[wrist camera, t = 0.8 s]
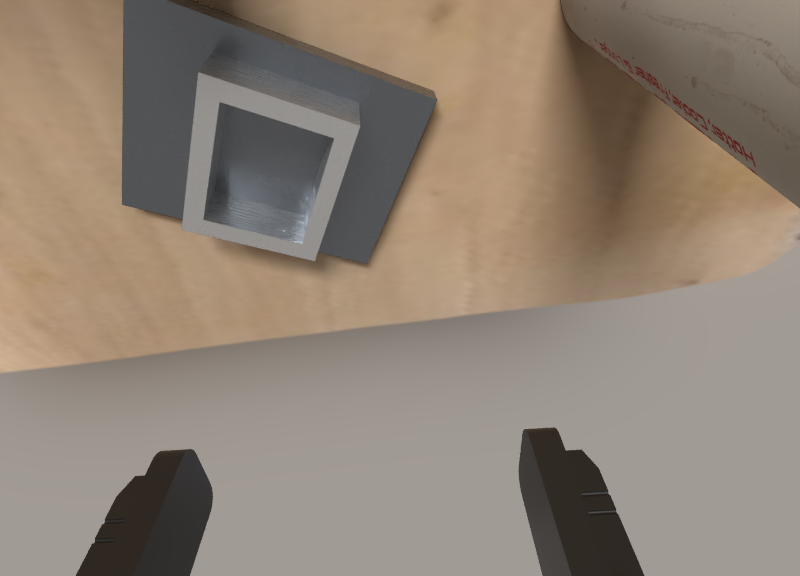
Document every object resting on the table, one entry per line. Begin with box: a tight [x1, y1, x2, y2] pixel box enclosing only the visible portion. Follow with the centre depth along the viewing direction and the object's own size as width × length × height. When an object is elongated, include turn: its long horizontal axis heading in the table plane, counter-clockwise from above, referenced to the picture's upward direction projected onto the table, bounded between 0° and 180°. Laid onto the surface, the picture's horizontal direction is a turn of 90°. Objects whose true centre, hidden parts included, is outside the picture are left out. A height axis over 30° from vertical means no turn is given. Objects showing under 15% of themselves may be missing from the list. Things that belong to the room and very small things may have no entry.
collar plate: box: [122, 0, 437, 264], centre depth 31 cm, size 18×14×5 cm
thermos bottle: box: [561, 0, 800, 208], centre depth 17 cm, size 8×8×28 cm
